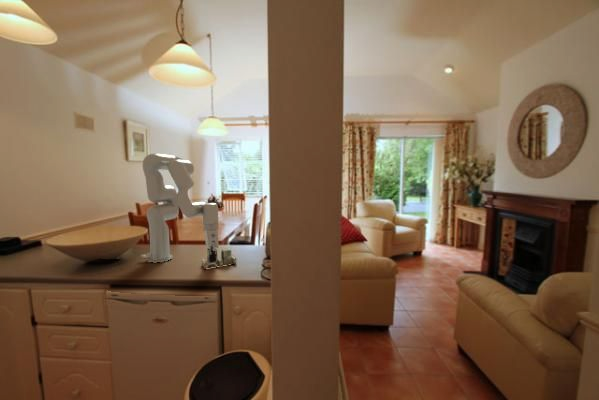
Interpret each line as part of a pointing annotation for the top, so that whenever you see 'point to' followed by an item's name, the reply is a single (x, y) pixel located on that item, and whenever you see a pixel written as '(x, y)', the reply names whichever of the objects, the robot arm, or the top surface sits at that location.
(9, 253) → the top surface
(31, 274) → the top surface
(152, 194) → the robot arm
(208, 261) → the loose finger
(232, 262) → the rail board
